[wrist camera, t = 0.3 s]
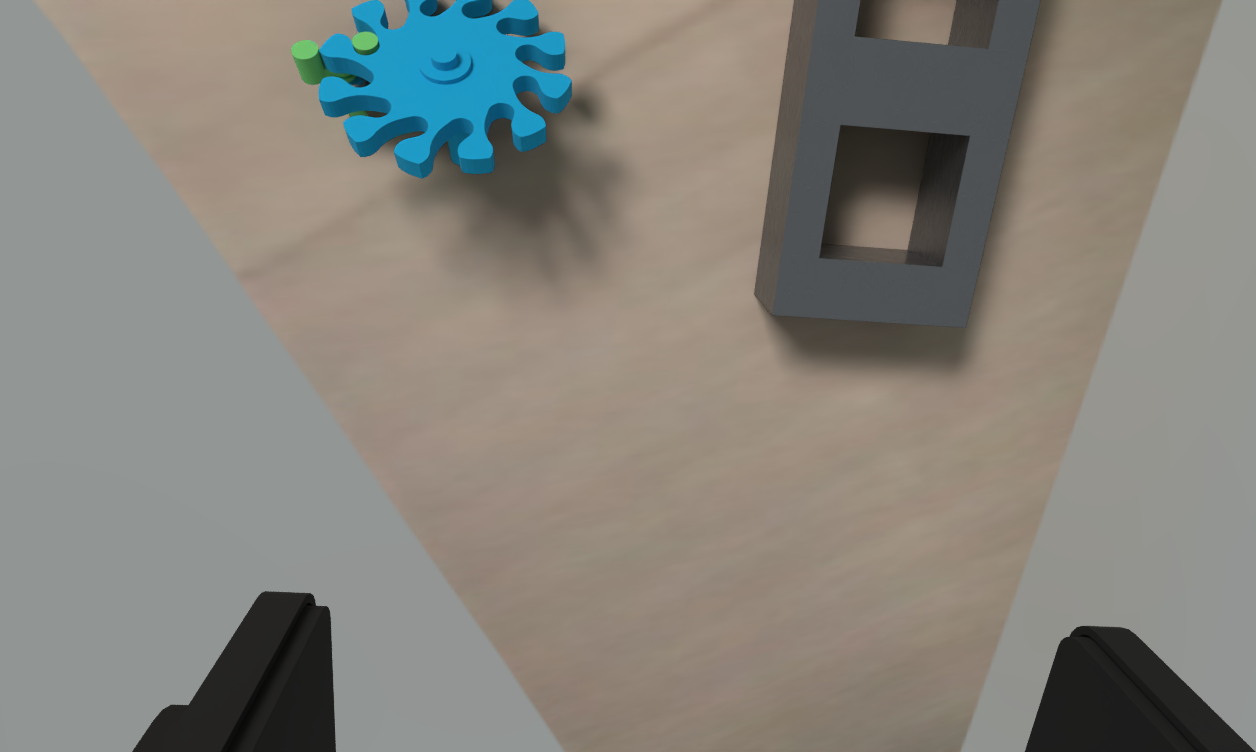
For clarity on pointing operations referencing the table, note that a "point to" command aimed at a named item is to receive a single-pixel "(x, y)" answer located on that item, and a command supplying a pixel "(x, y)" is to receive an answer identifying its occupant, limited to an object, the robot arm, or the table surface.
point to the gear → (438, 80)
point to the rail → (903, 100)
